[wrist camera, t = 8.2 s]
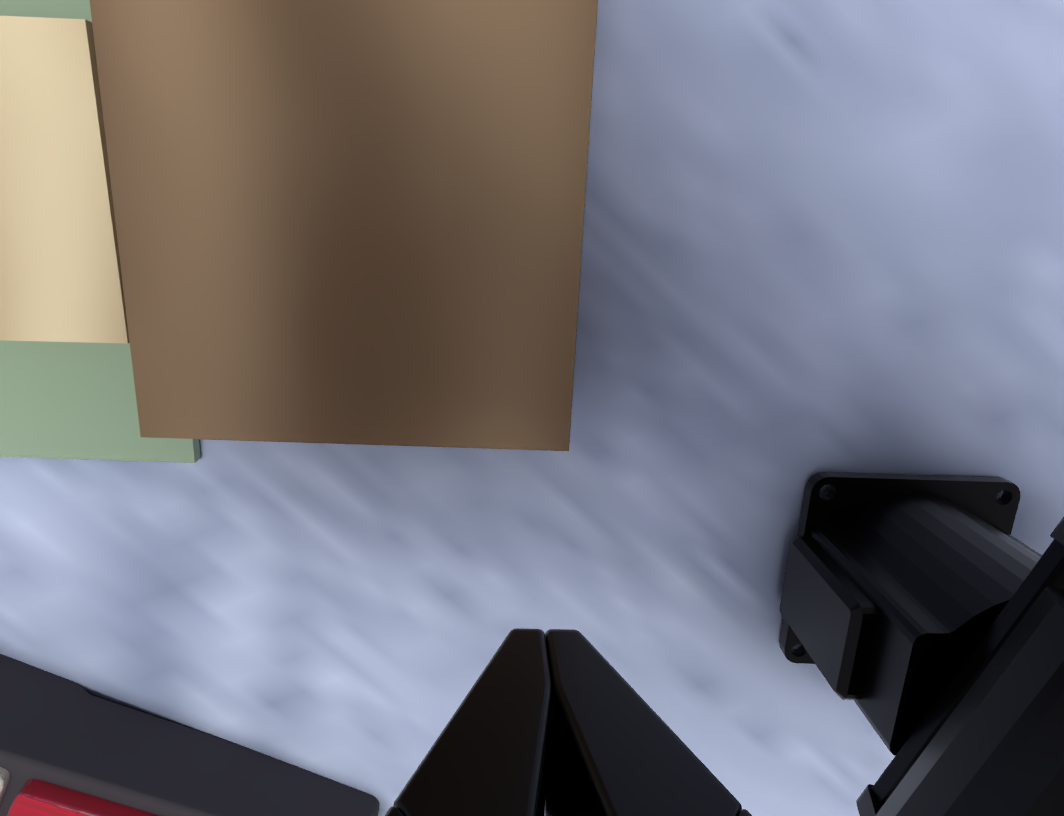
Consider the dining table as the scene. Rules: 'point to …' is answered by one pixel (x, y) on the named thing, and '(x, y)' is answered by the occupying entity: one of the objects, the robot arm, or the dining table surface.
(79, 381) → the mat
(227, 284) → the brown wooden block
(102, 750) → the calculator
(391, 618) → the dining table surface
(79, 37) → the birch tile
